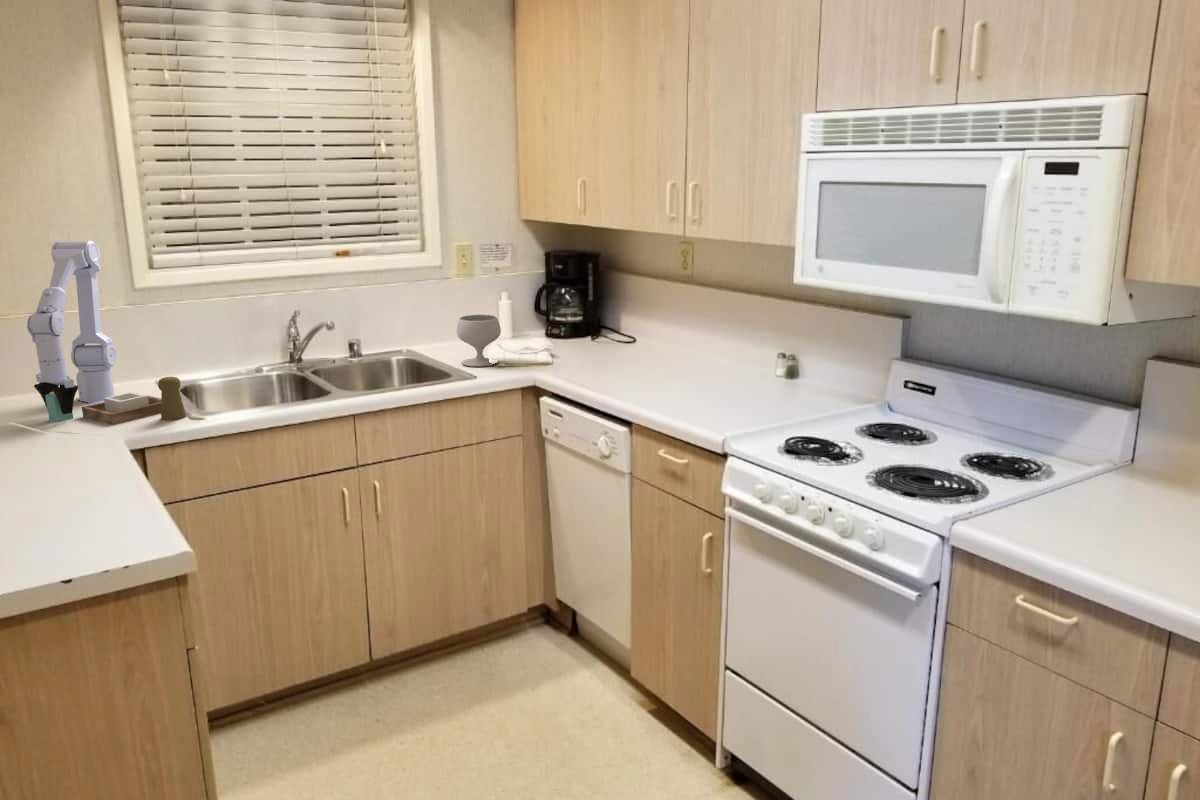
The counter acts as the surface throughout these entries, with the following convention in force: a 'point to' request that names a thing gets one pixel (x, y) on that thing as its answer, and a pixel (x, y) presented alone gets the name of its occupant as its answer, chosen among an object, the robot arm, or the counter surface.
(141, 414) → the parts box
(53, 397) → the plug
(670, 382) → the counter surface
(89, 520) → the counter surface
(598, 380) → the counter surface
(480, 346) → the chalice
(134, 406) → the frame
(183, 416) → the olive pepper mill
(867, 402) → the counter surface
